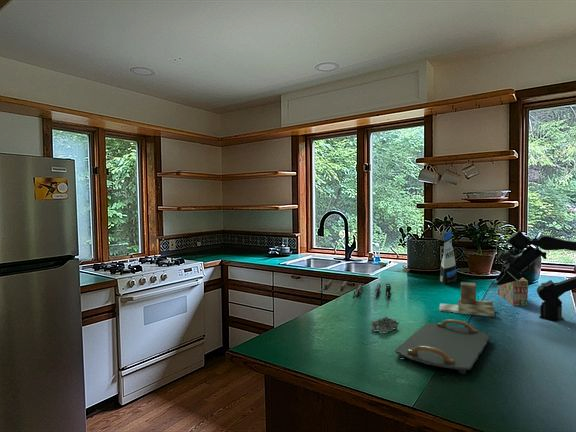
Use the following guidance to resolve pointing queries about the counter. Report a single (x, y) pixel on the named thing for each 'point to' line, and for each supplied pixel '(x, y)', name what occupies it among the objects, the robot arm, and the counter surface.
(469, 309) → the chute
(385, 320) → the bumpy grey rock
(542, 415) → the counter surface
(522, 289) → the stack of blocks
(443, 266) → the protein powder
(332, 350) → the counter surface
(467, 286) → the walnut block
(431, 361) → the serving board
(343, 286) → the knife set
